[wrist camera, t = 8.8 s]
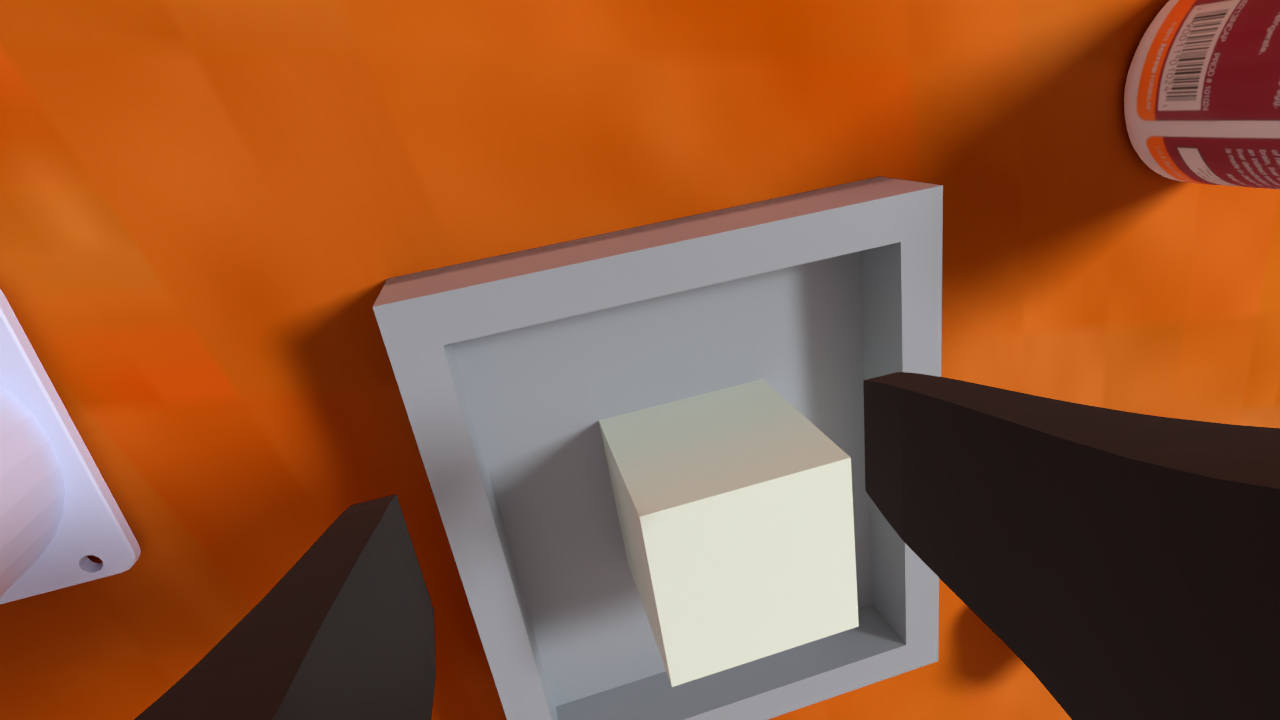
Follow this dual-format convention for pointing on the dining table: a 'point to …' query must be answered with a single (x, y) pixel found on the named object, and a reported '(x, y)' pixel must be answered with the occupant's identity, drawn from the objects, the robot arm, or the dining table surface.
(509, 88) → the dining table surface
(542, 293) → the tray
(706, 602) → the block
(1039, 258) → the dining table surface
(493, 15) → the dining table surface
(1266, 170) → the pill bottle
